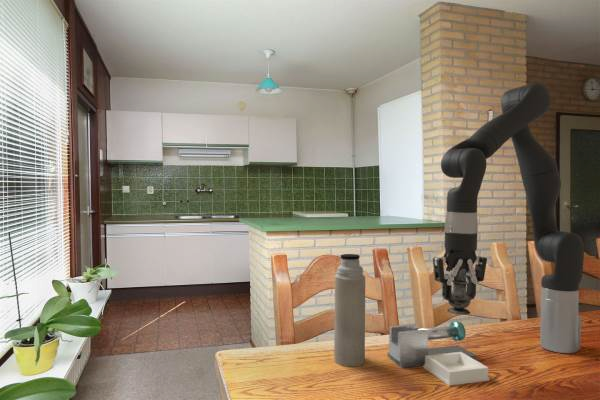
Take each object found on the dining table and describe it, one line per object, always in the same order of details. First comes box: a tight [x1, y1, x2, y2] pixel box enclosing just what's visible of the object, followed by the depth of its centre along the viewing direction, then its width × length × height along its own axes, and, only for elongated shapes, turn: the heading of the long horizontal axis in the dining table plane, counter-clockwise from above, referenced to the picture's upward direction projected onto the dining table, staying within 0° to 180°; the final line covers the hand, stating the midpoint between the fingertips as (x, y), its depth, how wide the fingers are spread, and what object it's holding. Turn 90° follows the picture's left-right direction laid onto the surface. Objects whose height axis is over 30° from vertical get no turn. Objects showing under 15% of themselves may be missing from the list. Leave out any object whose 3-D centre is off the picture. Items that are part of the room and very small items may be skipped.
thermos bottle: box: [333, 253, 366, 367], centre depth 117 cm, size 8×8×28 cm
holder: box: [423, 352, 491, 387], centre depth 110 cm, size 11×11×3 cm
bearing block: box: [387, 323, 478, 369], centre depth 120 cm, size 22×8×8 cm, turn 106°
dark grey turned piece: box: [447, 269, 473, 315], centre depth 110 cm, size 6×6×12 cm
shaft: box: [417, 321, 466, 342], centre depth 120 cm, size 13×5×5 cm, turn 106°
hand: (458, 298), depth 110 cm, fingers closed on dark grey turned piece, 6 cm apart
